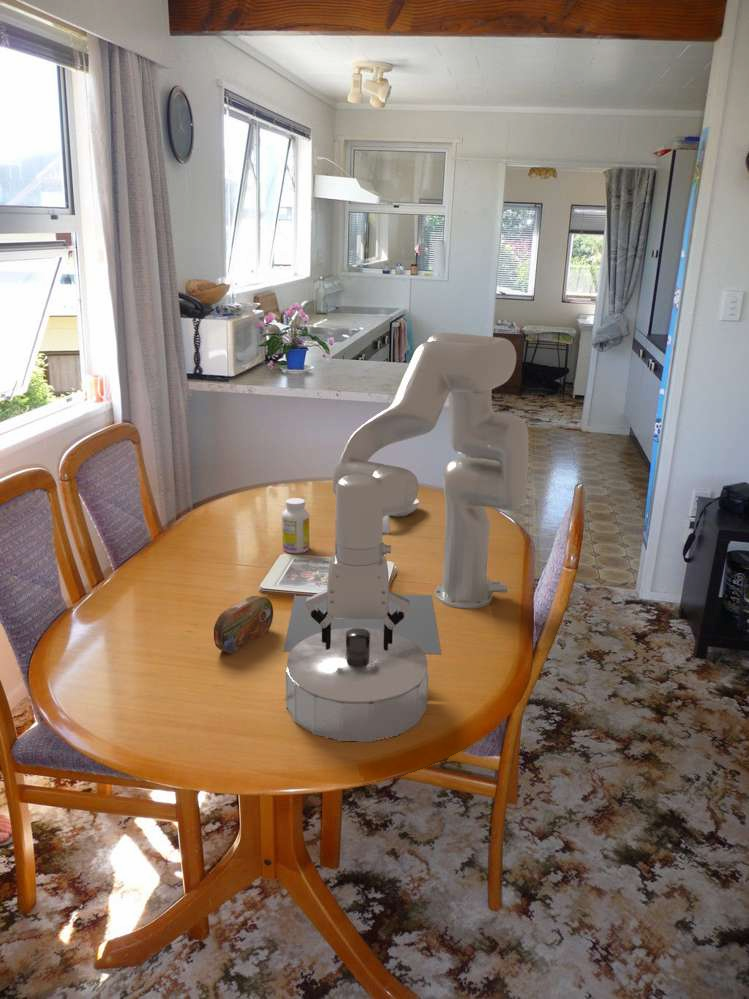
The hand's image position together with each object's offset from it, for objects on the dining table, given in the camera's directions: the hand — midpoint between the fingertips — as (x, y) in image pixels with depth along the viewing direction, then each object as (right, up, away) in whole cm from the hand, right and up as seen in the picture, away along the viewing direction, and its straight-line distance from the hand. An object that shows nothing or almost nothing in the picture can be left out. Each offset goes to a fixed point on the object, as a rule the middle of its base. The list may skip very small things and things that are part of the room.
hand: (357, 646), depth 136 cm
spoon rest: (+8, +19, +90) cm, 93 cm away
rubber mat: (+1, -1, +31) cm, 31 cm away
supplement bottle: (-17, +12, +68) cm, 71 cm away
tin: (-22, -3, +22) cm, 32 cm away
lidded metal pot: (0, -10, +4) cm, 11 cm away
